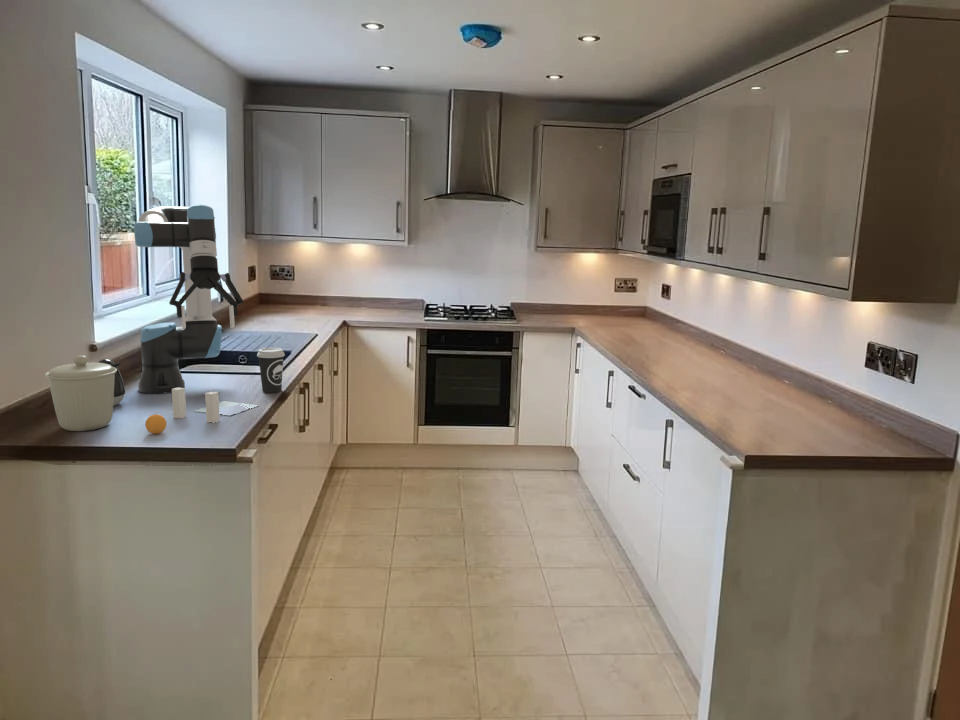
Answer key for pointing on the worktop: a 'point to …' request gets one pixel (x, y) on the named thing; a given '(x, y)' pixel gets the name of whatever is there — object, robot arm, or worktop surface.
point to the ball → (155, 424)
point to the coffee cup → (271, 369)
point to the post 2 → (212, 407)
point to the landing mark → (226, 403)
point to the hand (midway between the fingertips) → (208, 328)
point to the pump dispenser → (116, 382)
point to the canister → (82, 394)
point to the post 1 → (179, 402)
